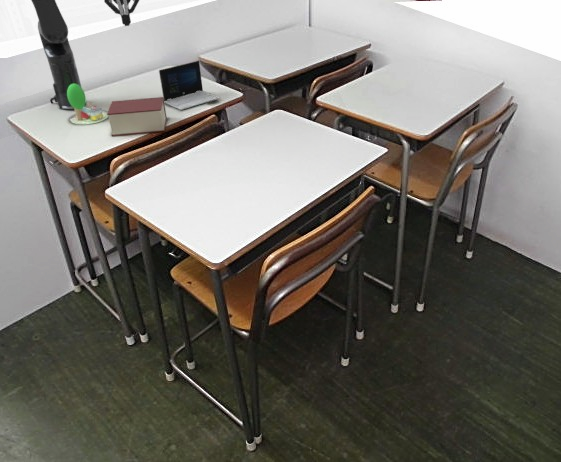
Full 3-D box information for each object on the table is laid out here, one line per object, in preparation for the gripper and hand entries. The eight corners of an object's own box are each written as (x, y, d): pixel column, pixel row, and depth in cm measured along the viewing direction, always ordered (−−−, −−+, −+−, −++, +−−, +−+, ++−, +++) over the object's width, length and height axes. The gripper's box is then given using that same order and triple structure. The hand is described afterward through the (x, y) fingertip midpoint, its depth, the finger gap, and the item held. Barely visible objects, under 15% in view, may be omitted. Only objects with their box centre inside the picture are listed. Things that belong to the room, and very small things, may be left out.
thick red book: (111, 136, 180) (106, 114, 176) (116, 122, 191) (112, 101, 187) (164, 131, 182) (161, 109, 177) (166, 118, 193) (163, 96, 188)
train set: (106, 81, 188) (68, 90, 181) (115, 117, 195) (78, 127, 189) (91, 73, 198) (54, 81, 191) (99, 107, 206) (64, 117, 199)
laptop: (180, 111, 198) (175, 76, 191) (164, 103, 206) (158, 70, 199) (220, 99, 208) (216, 66, 201) (202, 92, 216) (198, 60, 209)
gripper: (95, -24, 180) (107, 29, 190) (134, -27, 181) (144, 26, 191) (100, -27, 187) (110, 24, 196) (137, -30, 188) (146, 22, 197)
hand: (127, 25), depth 193 cm, fingers closed
